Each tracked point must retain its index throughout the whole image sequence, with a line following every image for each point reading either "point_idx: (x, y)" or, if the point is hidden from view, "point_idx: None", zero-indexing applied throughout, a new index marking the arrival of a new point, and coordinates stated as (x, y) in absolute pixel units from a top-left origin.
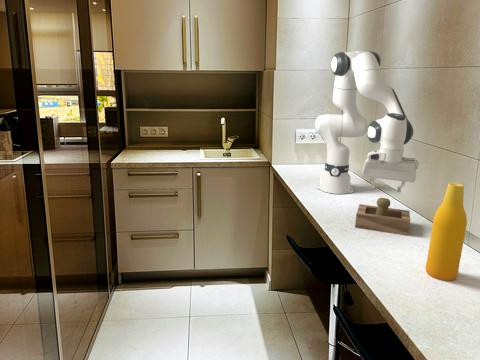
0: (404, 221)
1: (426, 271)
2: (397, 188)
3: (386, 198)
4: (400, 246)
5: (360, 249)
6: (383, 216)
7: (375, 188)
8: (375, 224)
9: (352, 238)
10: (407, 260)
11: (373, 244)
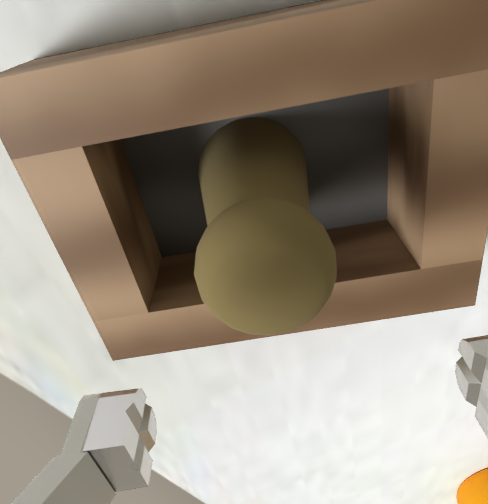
0: (434, 309)
1: (457, 501)
2: (480, 422)
3: (291, 253)
4: (384, 385)
5: (244, 466)
6: None
7: (148, 428)
8: None
9: (182, 411)
10: (406, 462)
11: (276, 417)
